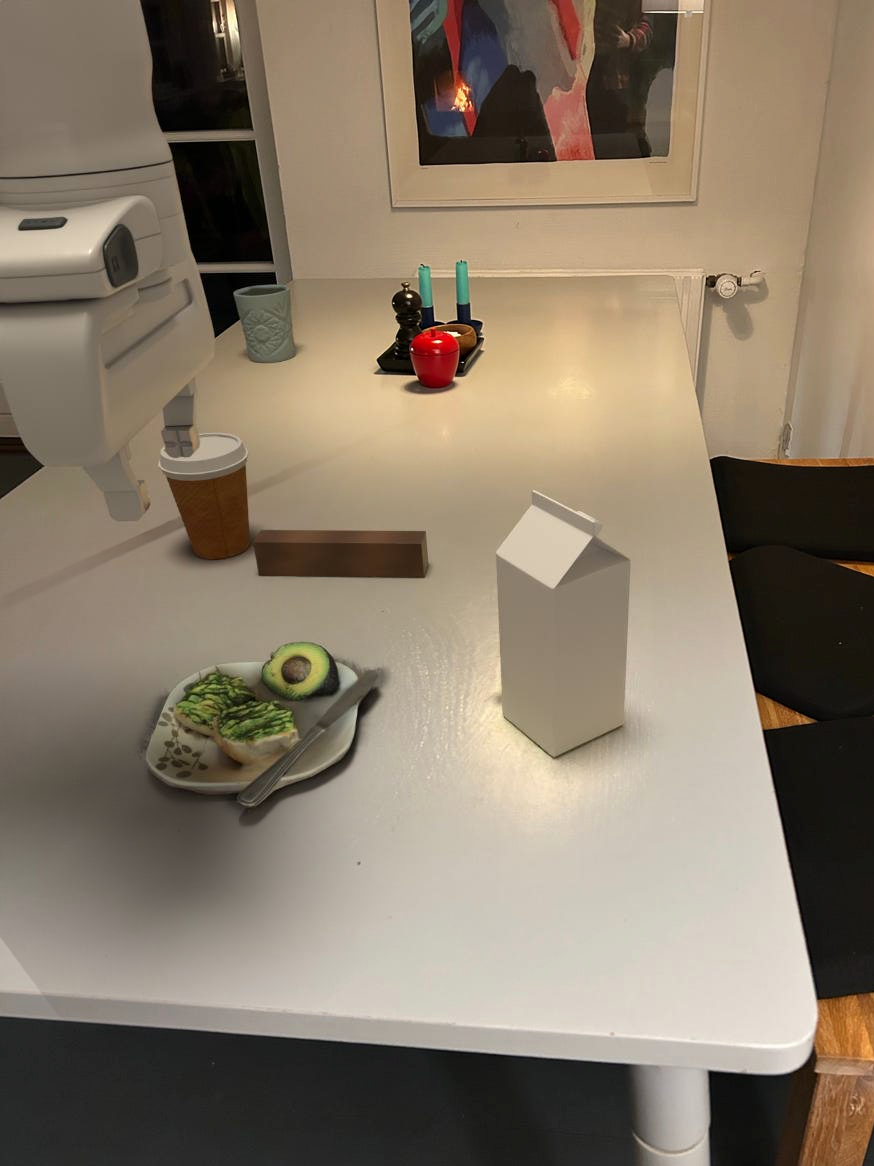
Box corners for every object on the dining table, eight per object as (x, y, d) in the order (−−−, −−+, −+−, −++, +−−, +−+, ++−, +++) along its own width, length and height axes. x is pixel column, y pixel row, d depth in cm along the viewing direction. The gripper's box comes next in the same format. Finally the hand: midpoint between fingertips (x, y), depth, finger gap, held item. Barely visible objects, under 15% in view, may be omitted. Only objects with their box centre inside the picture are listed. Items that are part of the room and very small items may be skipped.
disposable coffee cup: (193, 530, 112) (171, 432, 106) (272, 528, 112) (255, 430, 105) (168, 567, 104) (142, 464, 98) (253, 565, 104) (233, 461, 97)
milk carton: (554, 759, 73) (552, 536, 63) (501, 715, 78) (492, 502, 68) (624, 726, 76) (633, 508, 66) (569, 686, 81) (570, 478, 71)
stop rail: (258, 575, 101) (252, 541, 99) (267, 562, 104) (261, 529, 102) (424, 577, 99) (421, 543, 97) (428, 564, 102) (425, 530, 100)
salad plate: (362, 820, 68) (355, 770, 66) (116, 829, 68) (100, 779, 66) (384, 670, 85) (379, 626, 82) (186, 678, 85) (175, 634, 82)
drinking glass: (262, 367, 171) (251, 298, 165) (234, 357, 178) (222, 291, 171) (309, 355, 177) (300, 287, 171) (280, 346, 183) (270, 281, 177)
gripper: (112, 206, 58) (164, 425, 65) (-65, 272, 40) (33, 562, 48) (214, 200, 57) (255, 422, 64) (79, 265, 40) (156, 558, 47)
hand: (160, 482), depth 56 cm, fingers open, 8 cm apart
